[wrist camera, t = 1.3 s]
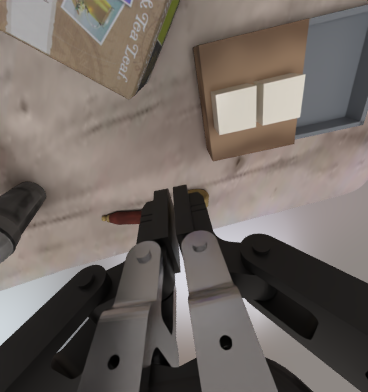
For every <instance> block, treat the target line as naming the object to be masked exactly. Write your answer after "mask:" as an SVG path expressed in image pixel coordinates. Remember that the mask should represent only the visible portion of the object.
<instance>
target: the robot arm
mask: <svg viewBox="0 0 368 392" xmlns="http://www.w3.org/2000/svg"><path fill="white" fill-rule="evenodd" d="M173 197H174V206H173V203H172V200H171V196H170V193H169V190H168V188H167V189H163V190H158V191H154V200H153V201H150V202H147V203H146V204H145V205H144V207H143V208H142V212H141V218H140V224H139V231H138V237H137V243H136V245H135V246H134V247H133V248H132V249H131V250H130V251H129V252H128V254H127V257H126V260H125V261H124V262H123V263H121V264H119V265H117V266H115V267H113V268H111V269H108V270H105V269H104V268H103V267H102V266H100V265H92V266H89V267H86V268H84V269H82V270H81V271H80V272H78V273H77V274H76V275H75V276H74V277H73V278H72V279H71V280H70V281H69V282H68V283H67V284H65V285H64V286H63V287H62V288H61V289H60V290H59V291H58V292H57V293H56V294H55V295H54V296H53V297H52V298H51V299H50V300H49V301H48V302H46V304H44V305H43V306H42V307H41V308H40V309H39V310H38V311H37V312H36V313H35V314H34V315H33V316H32V317H31V318H29V320H27V321H26V322H25V323H24V324H23V325H22V326H21V327H20V328H19V329H18V330H17V331H16V332H15V333H14V334H12V336H10V337H9V338H8V339H7V340H6V341H5V342H4V343H3V344H2V345H1V346H0V392H313V391H312V390H311V389H310V388H309V387H307V386H306V385H305V384H304V383H303V382H302V381H301V380H300V379H299V378H298V377H296V376H295V375H294V374H293V373H291V372H290V371H289V370H287V369H286V368H285V367H283V366H281V365H280V364H278V363H276V362H275V361H272V360H270V359H268V358H266V357H264V354H263V351H262V349H261V346H260V344H259V341H258V338H257V336H256V333H255V331H254V328H253V325H252V323H251V321H250V318H249V315H248V313H247V310H246V307H245V305H244V302H243V300H242V298H245V299H246V300H247V301H248V302H249V303H250V304H251V305H253V306H254V307H255V308H256V309H258V310H259V311H260V312H261V313H262V314H264V315H265V316H266V317H267V318H269V319H270V320H271V321H273V322H274V323H275V324H276V325H278V326H279V327H280V328H282V329H283V330H284V331H285V332H286V333H288V334H289V335H290V336H292V337H293V338H294V339H295V340H297V341H298V342H299V343H301V344H302V345H303V346H304V347H305V348H307V349H308V350H309V351H311V352H312V353H313V354H314V355H316V356H317V357H318V358H319V359H321V360H322V361H323V362H324V363H326V364H327V365H328V366H329V367H331V368H332V369H333V370H334V371H336V372H337V373H338V374H340V375H341V376H342V377H343V378H345V379H346V380H347V381H349V382H350V383H351V384H352V385H354V386H355V387H356V388H357V389H359V390H360V391H361V392H368V283H366V282H364V281H362V280H360V279H358V278H356V277H353V276H351V275H349V274H347V273H345V272H343V271H341V270H339V269H337V268H335V267H333V266H331V265H329V264H327V263H325V262H323V261H320V260H318V259H316V258H314V257H312V256H310V255H308V254H306V253H304V252H302V251H300V250H298V249H296V248H294V247H292V246H290V245H288V244H286V243H284V242H282V241H279V240H277V239H275V238H273V237H271V236H269V235H265V234H252V235H249V236H247V237H246V238H244V240H243V241H242V242H241V243H237V242H228V241H224V240H222V239H220V238H218V237H217V236H216V235H215V233H214V232H213V229H212V225H211V222H210V218H209V215H208V211H207V208H206V204H205V201H204V197H203V196H202V195H201V194H200V193H199V192H193V193H188V190H187V186H186V185H181V186H177V187H173ZM178 244H179V245H178ZM179 247H180V250H181V253H182V256H183V260H184V266H185V272H186V279H187V285H188V291H189V297H188V303H189V310H190V317H191V323H192V330H193V337H194V343H195V350H196V356H197V358H195V359H193V360H191V361H189V362H187V363H186V364H184V365H182V366H179V354H178V347H177V341H176V287H175V273H179V272H180V259H179ZM87 317H89V319H88V320H87V322H86V323H85V324H84V325H83V326H82V327H81V328H80V330H79V331H78V332H77V333H76V334H75V335H74V337H73V338H72V339H71V340H70V341H69V342H68V343H67V345H66V346H65V347H64V348H63V349H62V350H61V351H60V352H58V353H57V351H58V350H59V349H60V348H61V347H62V346H63V345H64V343H65V342H66V341H67V340H68V339H69V338H70V337H71V335H72V334H73V333H74V332H75V331H76V330H77V328H78V327H79V326H80V325H81V324H82V323H83V322H84V320H85V319H86V318H87Z"/></svg>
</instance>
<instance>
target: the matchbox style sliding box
mask: <svg viewBox="0 0 368 392" xmlns="http://www.w3.org/2000/svg"><path fill="white" fill-rule="evenodd" d="M309 19H310V18H308V19H304V20H300V21H296V22H292V23H288V24H284V25H280V26H275V27H271V28H267V29H263V30H259V31H255V32H251V33H247V34H243V35H238V36H234V37H230V38H226V39H222V40H218V41H214V42H210V43H206V44H201V45H198V46H196V47H194V48H193V51H194V58H195V65H196V72H197V80H198V87H199V94H200V101H201V109H202V116H203V123H204V131H205V138H206V145H207V150H208V152H209V154H210V156H211V158H212V160H213V161H217V160H222V159H226V158H231V157H236V156H240V155H245V154H250V153H254V152H259V151H263V150H268V149H273V148H277V147H282V146H287V145H291V144H294V141H295V133H296V125H297V118H295V119H290V120H286V121H281V122H277V123H272V124H268V125H263V126H262V125H261V124H259V123H258V122H256V127H254V128H250V129H245V130H241V131H236V132H232V133H227V134H223V135H219V134H218V132H217V131H216V130H215V128H214V119H213V110H212V101H211V91H216V90H220V89H224V88H228V87H233V86H237V85H241V84H246V83H248V84H252V85H254V81H259V80H263V79H267V78H272V77H276V76H280V75H285V74H289V73H297V74H303V68H304V59H305V51H306V43H307V35H308V27H309Z"/></svg>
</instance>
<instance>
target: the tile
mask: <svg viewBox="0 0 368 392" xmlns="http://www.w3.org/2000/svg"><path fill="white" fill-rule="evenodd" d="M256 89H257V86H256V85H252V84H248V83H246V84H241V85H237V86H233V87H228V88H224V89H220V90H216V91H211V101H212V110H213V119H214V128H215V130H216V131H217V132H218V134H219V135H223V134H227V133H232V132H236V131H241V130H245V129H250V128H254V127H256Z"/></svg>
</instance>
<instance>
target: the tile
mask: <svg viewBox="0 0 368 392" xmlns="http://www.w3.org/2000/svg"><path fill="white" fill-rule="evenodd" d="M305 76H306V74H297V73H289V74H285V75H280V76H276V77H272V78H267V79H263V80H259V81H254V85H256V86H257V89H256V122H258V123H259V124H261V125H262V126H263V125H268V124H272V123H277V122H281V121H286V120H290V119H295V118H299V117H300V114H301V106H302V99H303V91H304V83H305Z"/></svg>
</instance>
